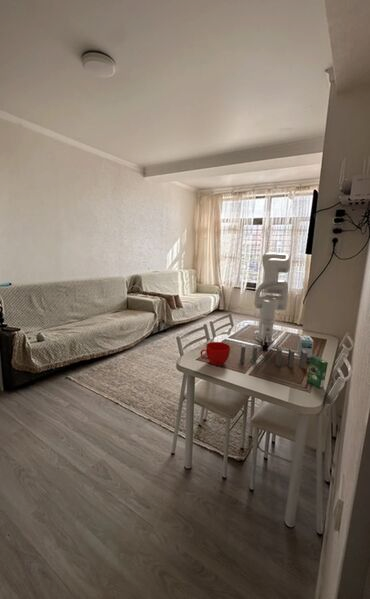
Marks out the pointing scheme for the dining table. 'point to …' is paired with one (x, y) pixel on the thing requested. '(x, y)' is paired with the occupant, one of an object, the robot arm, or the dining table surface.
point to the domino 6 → (303, 359)
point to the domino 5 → (290, 357)
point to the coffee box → (317, 371)
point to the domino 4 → (278, 356)
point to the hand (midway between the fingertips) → (264, 349)
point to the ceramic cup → (217, 353)
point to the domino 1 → (242, 353)
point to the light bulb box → (305, 345)
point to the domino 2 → (254, 354)
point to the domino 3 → (263, 351)
